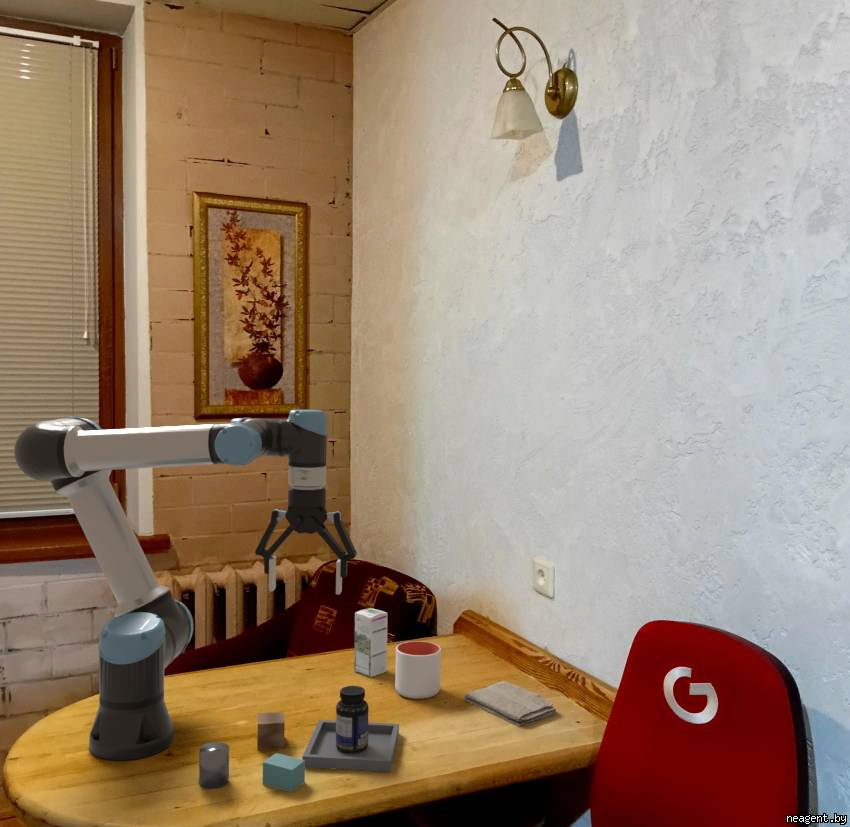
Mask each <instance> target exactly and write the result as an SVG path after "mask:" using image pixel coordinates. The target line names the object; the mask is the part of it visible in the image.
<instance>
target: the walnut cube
mask: <svg viewBox="0 0 850 827" xmlns="http://www.w3.org/2000/svg"><path fill="white" fill-rule="evenodd" d="M285 722H286V721H285V712H284V711H282V712H280V711H279V712H263V713H262V712H261V713H257V746H256V747H257V750H258V751H259V750H277V749H279V748H280V749H285V730H286V729H285Z"/></svg>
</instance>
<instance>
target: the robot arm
mask: <svg viewBox="0 0 850 827" xmlns="http://www.w3.org/2000/svg"><path fill="white" fill-rule="evenodd" d="M327 422H328V421H327V414H326V413H325V411H323V410H320V409H292V410H290V412H289V414H288V417H287V418H285V419H283V418H281V419H279V418H278V419H276V418H275V419H274V418H258V417H257V418H256V417H255V418H254V417H253V418H252V417H242V418H241V417H239V418H232V419H231V420H230V422H229V423H219V424H218V423H217V424H196V425H193V424H192V425H177V426H173V425H172V426H159V427H158V426H156V427H155V426H154V427H138V428H137V427H136V428H134V427H133V428H119V429H118V428H114V429H103V428H101V426H100V425H98V423H96V422H94V421H93V420H90V419H87V418H84V417H77V416H65V417H63V418H57V419H52V420H51V419H50V420H43V421H42V420H41V421H38V422H35V423H33V424H31V425H29V426H28V427H26V428H25V429H24V430H22V432H20V434H19V436H18V438H17V439H16V441H15V445H14V451H13V453H14V459H15V461H16V464H17V466H18V467H19V469H20V470H21V472H23V474H24V475H26V476H28V477H29V478H31V479H34V480H37V481H41V482H50V484H51V486H52V488H53V489H54V491H55V493H56V494H57V495H60V496H62V497H63V496H64V497H65V498H66V499H68V503H69V504H70V506H71V508H72V510H73V512H74V514H75V516H76V519H77V521H78V522H79V525H80V527H81V528H82V532H83V533H84V535H85V538H86V539H87V542H88V544H89V545H90V549H91V550H92V553H93V554H94V556H95V558H96V560H97V562H98V565H99V566H100V569H101V570H102V573H103V575H104V577H105V579H106V582H107V584H108V585H109V587H110V589H111V591H112V593H113V596H114V598H115V600H116V602H117V607H116V610H115V613H114V617H113V618H111V619H110V620H108V621H107V622H106V623H105V624H104V625H103V626H102V628H101V629H100V633H99V641H98V645H97V648H98V673H99V674H98V681H99V682H98V683H99V685H98V686H99V687H98V690H99V691H98V692H99V693H98V698H99V699H98V700H99V701H98V704H99V706H98V709H97V712H96V714H95V718H94V720H93V724H92V727H91V729H90V732H89V738H88V740H89V743H88V746H89V748H88V749H89V751H90V752H91V754H92V755H94V756H96V757H98V758H101V759H105V760H111V761H129V760H137V759H141V758H146V757H149V756H150V757H151V756H152V755H156V754H158V753H161V752H162V751H164V750H165V749H167V748H168V747H169V746H170V745H171V744H172V743H173V741H174V724H173V721H172V718H171V716H170V713H169V710H168V706H167V704H166V702H165V669H167V667H168V666H169V665H170V664H171V663H172V662H173V661H174V660H175V659H176V658H179V656H180V655H181V654H182V653H183V652H184V651H185V650H186V648H187V646H188V645H189V643H190V641H191V640H192V637H193V633H194V619H193V616H192V613H191V612H190V610H189V609H188V607H187V606H186V605H185V603H183V602H181V601H178V600H177V599H175V598H174V595H173V593H172V592H171V589H170V588H169V587H167V586H165V585H162V584H160V583H159V582H158V580H157V578H156V576H155V573H154V571H153V568H152V567H151V565H150V564H149V560H148V558H147V557H146V555H145V553H144V550H143V549H142V546H141V545H140V542H139V540H138V538H137V535H136V534H135V532H134V530H133V528H132V526H131V524H130V521H129V519H128V516H126V513H125V511H124V509H123V506H122V504H121V502H120V500H119V498H118V496H117V494H116V492H115V490H114V488H113V486H112V483H111V482H110V475H111V473H112V471H113V470H114V471H115V470H132V469H147V468H148V469H150V468H170V467H172V468H173V467H188V466H207V465H209V466H211V465H228V466H232V467H233V466H234V467H236V466H246V465H248V464H250V463H252V462H253V461H255V460H257V459H259V458H261V457H282V458H283V457H288V474H287V476H288V478H287V480H288V481H287V482H288V483H287V484H288V485H289V486H290V487H289V488H288V490H287V510H281V509H280V508H276V509H274V510H273V511H272V512H271V515H270V516H271V517H270V522H269V524H268V525H267V528H266V530H265V532H264V534H263V536H262V537H261V539H260V541H259V543H258V545H257V546H256V548H255V551H254V553H255V554H254V555H256V556H259V557H262V558H263V560H264V561H263V566H264V567H263V572H264V574H265V575H268V592H270V593H271V592H273V591H275V589H276V587H277V583H276V582H277V580H276V579H277V556H273V555H274V553H275V552H277V550H278V549H279V548H280V547H281V546H282V544H284V542H285V541H286V540H287V539H288V538H289V537H290V536H291V535H292V534H293V532H296V533H297V534H305V533H306V534H308V535H310V534H311V535H314V534H316V533H317V534H318V536H319V537H321V538H322V539H323V540H324V542H325V543H326V544H327V545H328V547H329V548H330V549H331V550H332V552H333V553H334V554H335V556H337V558H338V559H337V561H336V563H335V564H336V566H335V569H336V570H335V573H336V574H335V595H340V594H341V593H342V592H343V590H342V589H343V586H342V585H343V578H346V577H347V576H348V561H349V560H354V559H355V558H356V556H357V555H358V553H357V550H356V548H355V546H354V544H353V541H352V539H351V538H350V535H349V533H348V531H347V529H346V527H345V525H344V522H343V518H342V517H343V515H342V512H341V511H340V510H337V511H334V512H332V511H331V512H328V511H327V509H326V508H327V506H326V505H327V502H326V501H327V497H326V496H327V489H325V486H326V485H327V450H328V449H327V447H328V435H329V434H328V430H327V428H328V426H327ZM284 518H285V519H286V521H287V522H288V523H289V525H288V526H287V527H286V529H285V530H284V531H283V532H282V533H281V535H280V536H279V537H278V538H277V539H276V540H275V542H274V543H273V544H271V545H270V547H269V548H267V549H266V547H267V546H268V544H269V541H270V540H271V538H272V536H273V534H274V532H275V530H276V528H277V526H278V524H279V522H280V521H282V520H283V519H284ZM328 519H329V521H330V522H331V523H332V524H334V527H335V530H336V532H337V535H338V536H339V539H340V540H341V543H342V545H343V547H344V549H345V550H346V551H345V550H344V549H343V547H342V546H341V544H340V543H339V542H338V541H337V539H336V538H335V537H334V536H333V535H332V534H331V532H330V531H329V529H328V527H327V526H326V525H325V522H326V521H327V520H328Z"/></svg>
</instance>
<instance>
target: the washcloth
mask: <svg viewBox="0 0 850 827" xmlns="http://www.w3.org/2000/svg"><path fill="white" fill-rule="evenodd" d="M463 701H465V702H466V701H467V702H466V703H468V702H469V703H468V704H470V703H472V704H474V705H475V706H474V705H473V706H474V707H476V706H478V707H479V709H480V708H482V709H481V710H482V711H484V710H485V711H484V712H487V713H489V712H490V713H489V714H491V713H492V715H493V714H494V715H493V716H496V717H498V718H499V717H500V719H502V718H503V719H502V720H504V721H506V722H508V723H509V724H512V725H514V726H515V727H518V728H521V726H529V725H532V724H535V723H538V722H540V721H543V720H547V719H549V718H551V717H554V716H556V715H557V713H558V712H557V708H556V707H554V706H553V705H554V703H553V702H550V701H548V700H546V699H545V698H544V697H542V696H541V694H540V693H537V692H536V693H535V692H533V691H529V690H527V689H525V688H524V687H521V686H518V685H516V684H512V683H511V682H508V681H504V680H503V681H499V682H496V683H493V684H491V685H489V686H487V687H484V688H479V689H476V690H473V691H469V692H467V693H465V694H464V696H463ZM472 704H471V705H472ZM478 707H477V708H478Z"/></svg>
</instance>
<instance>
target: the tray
mask: <svg viewBox="0 0 850 827" xmlns="http://www.w3.org/2000/svg"><path fill="white" fill-rule="evenodd" d="M399 737H400V724H399V723H388V722H387V723H386V722H369V721H368V746H367V748H366V749H365V750H363V751H361V752H357V753H344V752H342V751H339V750H338V749H337V747H336V720H330V719H328V720H327V719H318V722H317V724H316V726H315V728H314V730H313V732H312V735H311V736H310V739H309V741H308V743H307V746H306V747H305V749H304V752H303V754H302V757H301V758H302V759H301V760H305V768H307V767H311V768H310V769H326V768H335V769H334V770H344V769H351V770H350V771H362V770H363V771H366V772H383V773H391V772H392V768H393V767H392V766H393V763H394V759H395V758H394V757H395V755H396V754H395V753H396V749H397V744H398V741H399ZM313 767H314V768H313ZM353 769H354V770H353Z"/></svg>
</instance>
